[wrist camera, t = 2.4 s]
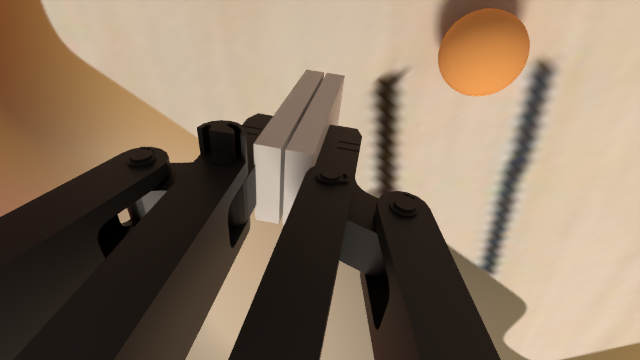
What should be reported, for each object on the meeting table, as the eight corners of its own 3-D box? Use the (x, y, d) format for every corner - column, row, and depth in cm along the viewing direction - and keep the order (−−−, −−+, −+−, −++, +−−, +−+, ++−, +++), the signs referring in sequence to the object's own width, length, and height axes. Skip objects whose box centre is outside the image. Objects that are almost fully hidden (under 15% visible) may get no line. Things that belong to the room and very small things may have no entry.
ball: (447, -3, 26) (459, 10, 21) (529, 8, 25) (561, 23, 20) (426, 75, 29) (431, 101, 24) (497, 86, 29) (517, 115, 24)
